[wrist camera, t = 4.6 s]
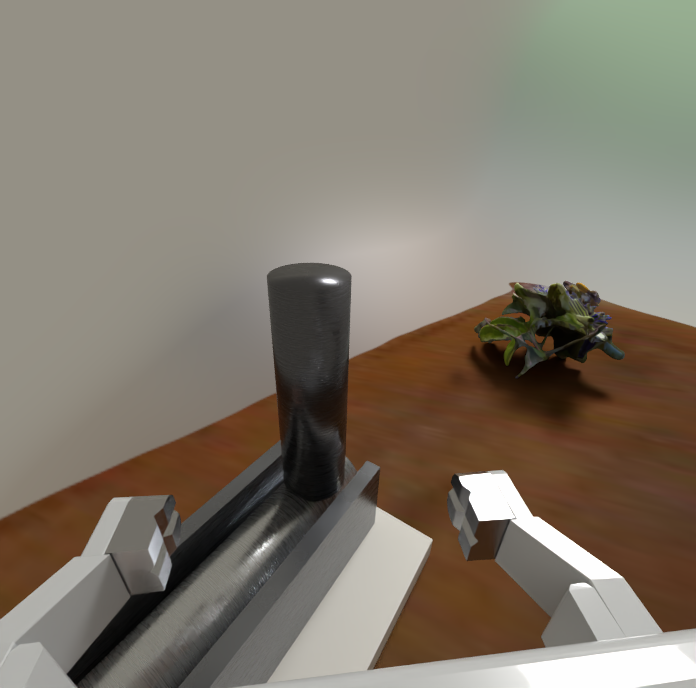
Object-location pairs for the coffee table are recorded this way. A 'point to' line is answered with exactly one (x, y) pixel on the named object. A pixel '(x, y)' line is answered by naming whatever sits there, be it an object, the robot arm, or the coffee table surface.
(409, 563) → the base board
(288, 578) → the grey guide channel
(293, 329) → the slide bolt
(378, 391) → the coffee table surface
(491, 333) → the passion flower
